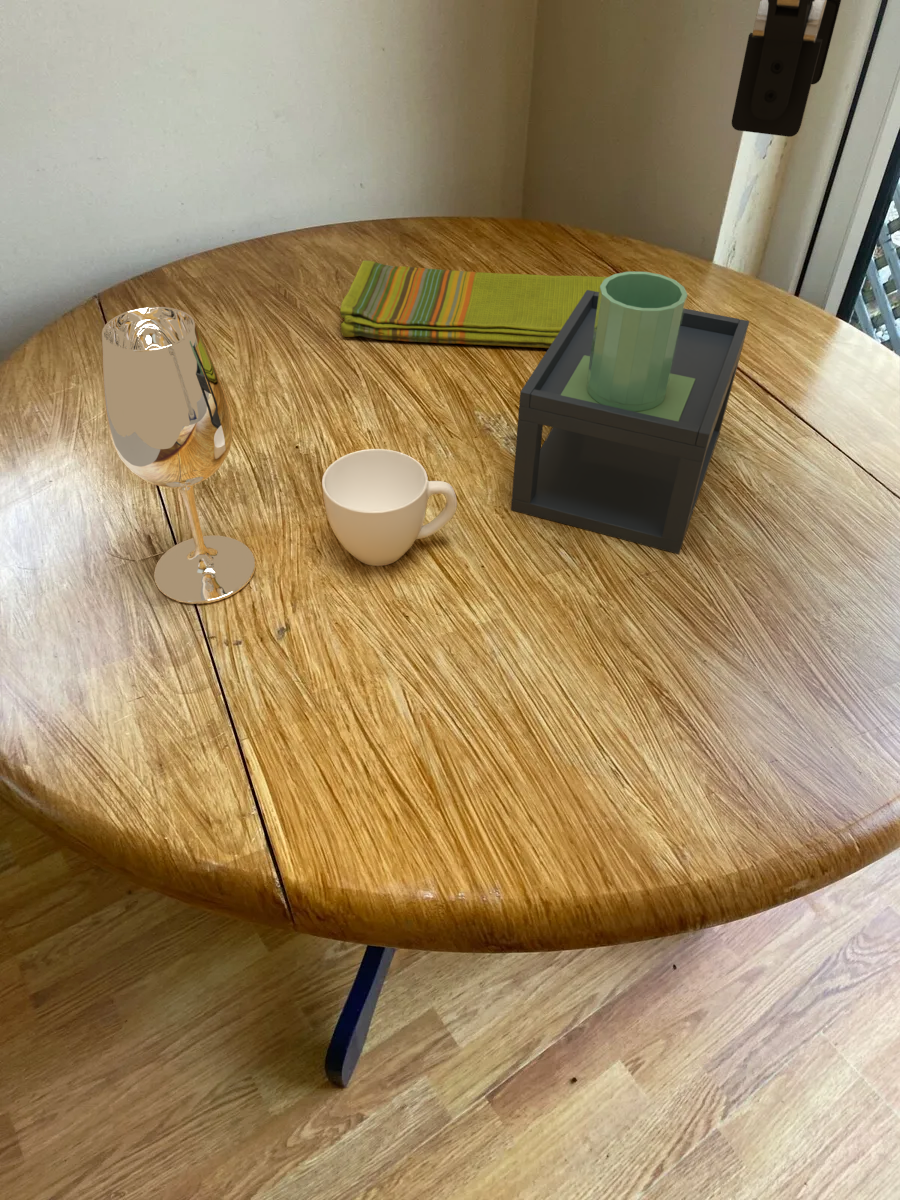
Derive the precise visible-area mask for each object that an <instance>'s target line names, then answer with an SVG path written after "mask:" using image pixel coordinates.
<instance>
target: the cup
mask: <svg viewBox="0 0 900 1200" xmlns="http://www.w3.org/2000/svg"><path fill="white" fill-rule="evenodd" d="M325 469H326V470H325V471H324V473H323V475H322V477H321V478H322V479H321V486H322V487H321V488H322V498H323V505H324V509H325V514H326V518H327V521H328V523H329V526H330V528H331V530H332V532H333V535H334V536H335V538H336V539H337V540H338V542H339V543H340V544H341V546H342V547H343V548H344V549H345V550H346V551H347V552H348V553H349V554H350V555H351V556H353V558H355V559H356V560H358V561H359V562H360V563H362V564H364V565H367V566H373V567H382V566H388V565H391V564H393V563H395V562H397V561H398V560H400V559H401V558H402V557H403V556H404V555H405V554H407V552H408V551H409V550H410V548H411V547H412V546H413V545H414V543H415V541H416V540H421V539H426V538H428V537H431V536H433V535H435V534H436V533H437V532H439V531H440V530H442V529H443V528H444V527H446V525H447V524H448V523H450V521H451V520H452V519H453V518H454V516H455V514H456V512H457V509H458V499H457V494H456V491H455V489H454V487H453V486H452V485H451V483H449V482H446V481H443V480H429V478H428V474H427V471H426V469H425V467H424V466H423V465H422V464H421V463H420V462H419V461H418V460H417V459H415V458H413V457H412V456H410V455H409V454H407V453H404V452H401V451H397V450H392V449H386V448H367V449H362V450H357V451H353V452H350V453H347V454H345V455H343V456H340V457H339V458H337V459H336V460H334V461H333V462H332V463H331V464H329V466H327V468H325ZM433 495H443V496H444V498H445V504H444V507H443V508H442V510H441V511H440V512H439V514H437V515H436V516H435V517H434V518H433V519H432V520H431V521H429V522H428V523H426V524H424V522H425V519H426V514H427V509H428V502H429V499H430V497H432V496H433Z"/></svg>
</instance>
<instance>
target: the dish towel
mask: <svg viewBox="0 0 900 1200" xmlns="http://www.w3.org/2000/svg"><path fill="white" fill-rule="evenodd" d="M608 277H609V276H591V275H590V276H589V275H546V274H529V273H527V274H526V273H525V274H523V273H498V272H497V273H496V272H482V271H481V272H480V271H467V270H465V271H464V270H452V269H441V268H440V269H439V268H437V269H436V268H429V267H428V268H426V267H416V266H402V265H401V266H398V265H389V264H384V263H380V262H376V261H373V260H366V259H365V260H362V261H361V264H360V265H359V267H358V270H357V272H356V273H355V277H354V279H353V281H352V283H351V284H350V287H349V289H348V291H347V294H346V295H344V297H343V299H342V301H341V304H340V307H339V312H340V313H339V315H340V318H341V319H344V320H343V322H341V323H340V333H341V335H342V336H343V337H346V338H353V337H362V338H365V339H366V338H367V339H371V340H381V341H398V342H399V341H400V342H411V343H431V344H433V343H434V344H457V345H458V344H461V345H475V346H476V345H477V346H478V345H479V346H480V345H482V346H497V347H498V346H500V347H501V346H502V347H519V348H520V347H521V348H543V349H549V347H550V346H551V344H552V343H553V341H554V340H555V338H556V337H557V335H558V334H559V332H560V330H561V329H562V327H563V326H564V324H565V323H566V321H567V320H568V318H569V317H570V315H571V314H572V312H573V311H574V309H575V308H576V306H577V304H578V303H579V301H580V300H581V298H582V297H583V295H584V294H585V292H586V291H587V290H590V291H595V292H599V289H600V285H601V284H602V282H603V281H604V279H606V278H608Z"/></svg>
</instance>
